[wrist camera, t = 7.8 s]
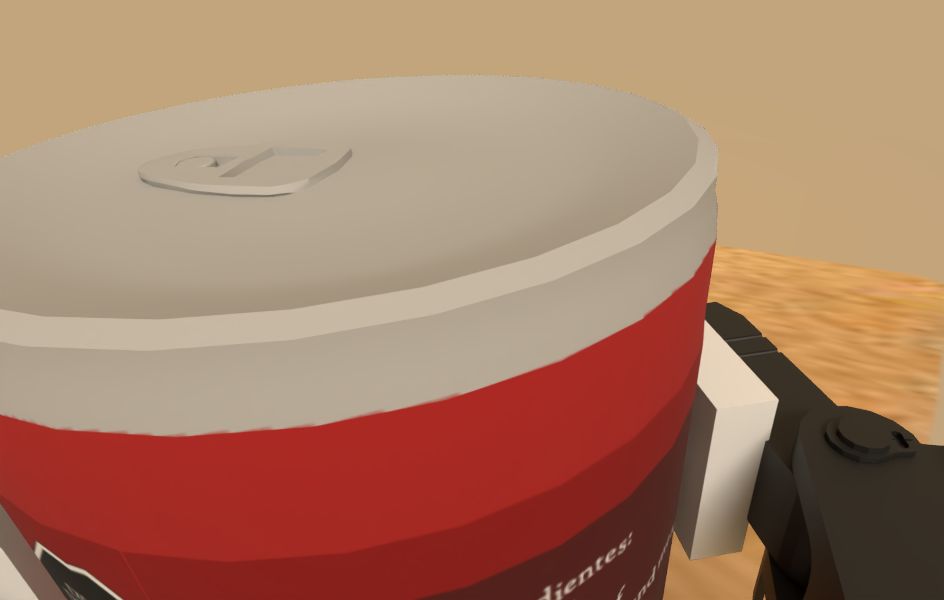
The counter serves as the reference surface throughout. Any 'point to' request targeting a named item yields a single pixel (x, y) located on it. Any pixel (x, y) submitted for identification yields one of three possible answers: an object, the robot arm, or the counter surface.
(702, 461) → the robot arm
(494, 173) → the canned food
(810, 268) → the counter surface
